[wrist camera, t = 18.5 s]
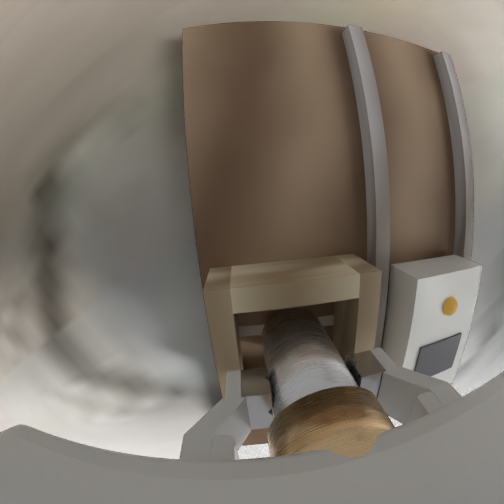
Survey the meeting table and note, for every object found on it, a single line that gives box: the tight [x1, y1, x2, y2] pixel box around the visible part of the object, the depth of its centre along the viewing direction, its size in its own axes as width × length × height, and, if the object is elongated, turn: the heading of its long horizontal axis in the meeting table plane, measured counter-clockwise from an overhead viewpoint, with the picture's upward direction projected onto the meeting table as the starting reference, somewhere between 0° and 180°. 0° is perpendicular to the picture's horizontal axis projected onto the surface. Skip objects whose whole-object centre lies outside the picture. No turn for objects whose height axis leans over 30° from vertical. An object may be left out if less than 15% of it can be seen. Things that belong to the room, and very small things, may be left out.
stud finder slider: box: [382, 255, 482, 384], centre depth 12 cm, size 5×8×3 cm, turn 5°
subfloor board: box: [182, 21, 474, 445], centre depth 13 cm, size 16×26×2 cm, turn 5°
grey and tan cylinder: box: [261, 308, 395, 458], centre depth 9 cm, size 4×4×8 cm
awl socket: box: [203, 254, 382, 417], centre depth 12 cm, size 7×7×3 cm
